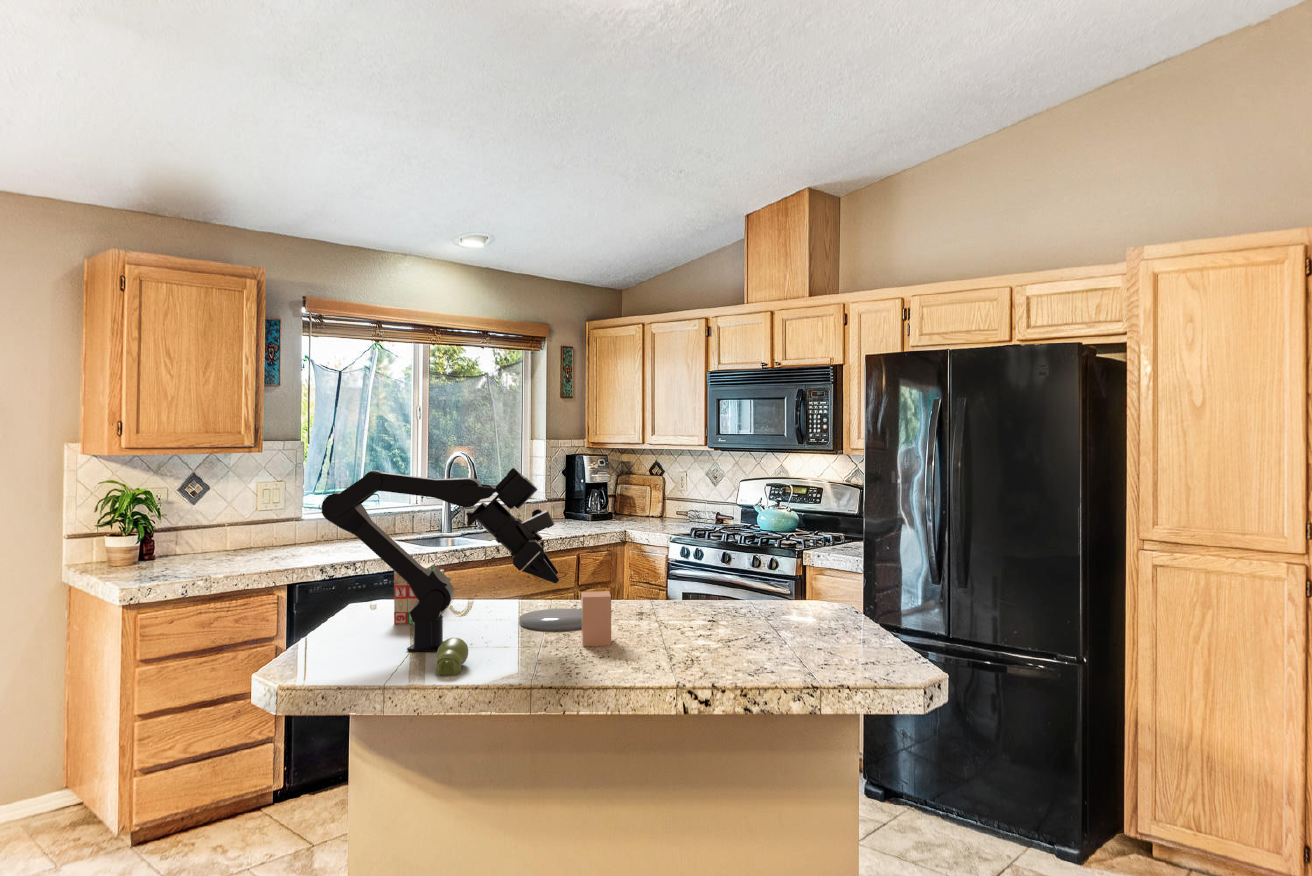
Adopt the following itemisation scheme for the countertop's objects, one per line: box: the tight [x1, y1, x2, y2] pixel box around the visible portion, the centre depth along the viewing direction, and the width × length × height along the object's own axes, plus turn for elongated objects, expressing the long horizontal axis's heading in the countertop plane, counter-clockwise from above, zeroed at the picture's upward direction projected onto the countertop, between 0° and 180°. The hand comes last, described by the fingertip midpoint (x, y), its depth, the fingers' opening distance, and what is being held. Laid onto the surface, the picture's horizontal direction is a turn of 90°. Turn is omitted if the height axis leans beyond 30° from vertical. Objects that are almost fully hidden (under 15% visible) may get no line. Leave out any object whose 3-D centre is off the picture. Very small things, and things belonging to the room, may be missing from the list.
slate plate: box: [518, 608, 582, 632], centre depth 193 cm, size 18×18×1 cm
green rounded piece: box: [435, 637, 469, 677], centre depth 154 cm, size 6×5×10 cm
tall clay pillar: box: [580, 590, 612, 647], centre depth 174 cm, size 6×6×10 cm
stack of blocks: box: [393, 562, 445, 625], centre depth 202 cm, size 21×6×12 cm, turn 0°
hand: (557, 577), depth 173 cm, fingers open, 9 cm apart
